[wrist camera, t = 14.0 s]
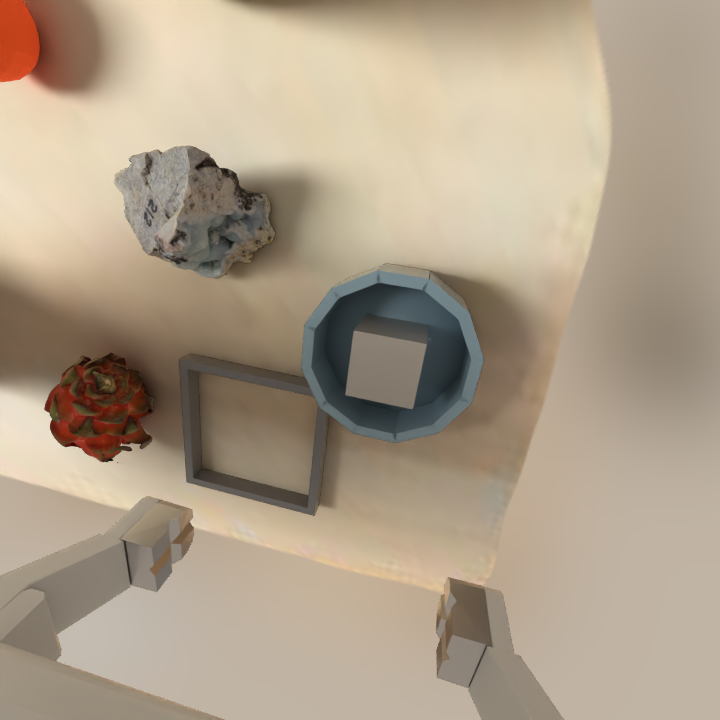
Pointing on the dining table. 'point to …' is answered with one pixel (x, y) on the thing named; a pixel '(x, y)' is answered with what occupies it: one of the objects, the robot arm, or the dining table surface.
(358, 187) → the dining table surface
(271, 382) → the tray
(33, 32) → the clementine
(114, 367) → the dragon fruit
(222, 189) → the mineral specimen
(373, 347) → the pebble block
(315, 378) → the bowl
